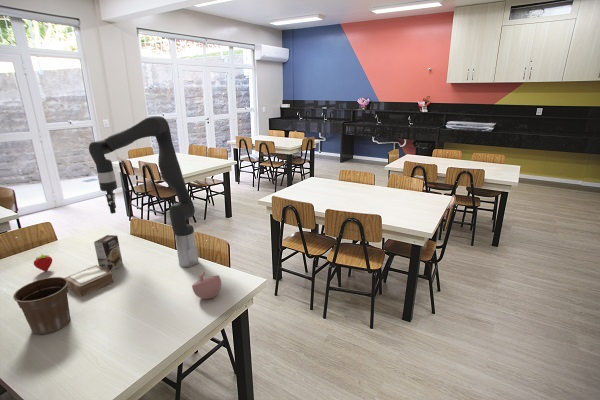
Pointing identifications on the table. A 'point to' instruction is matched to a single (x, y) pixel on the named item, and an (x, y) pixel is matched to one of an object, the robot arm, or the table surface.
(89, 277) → the plinth
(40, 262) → the strawberry
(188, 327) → the table surface
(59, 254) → the table surface
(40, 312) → the plant pot
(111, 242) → the coffee box
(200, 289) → the pink apple
